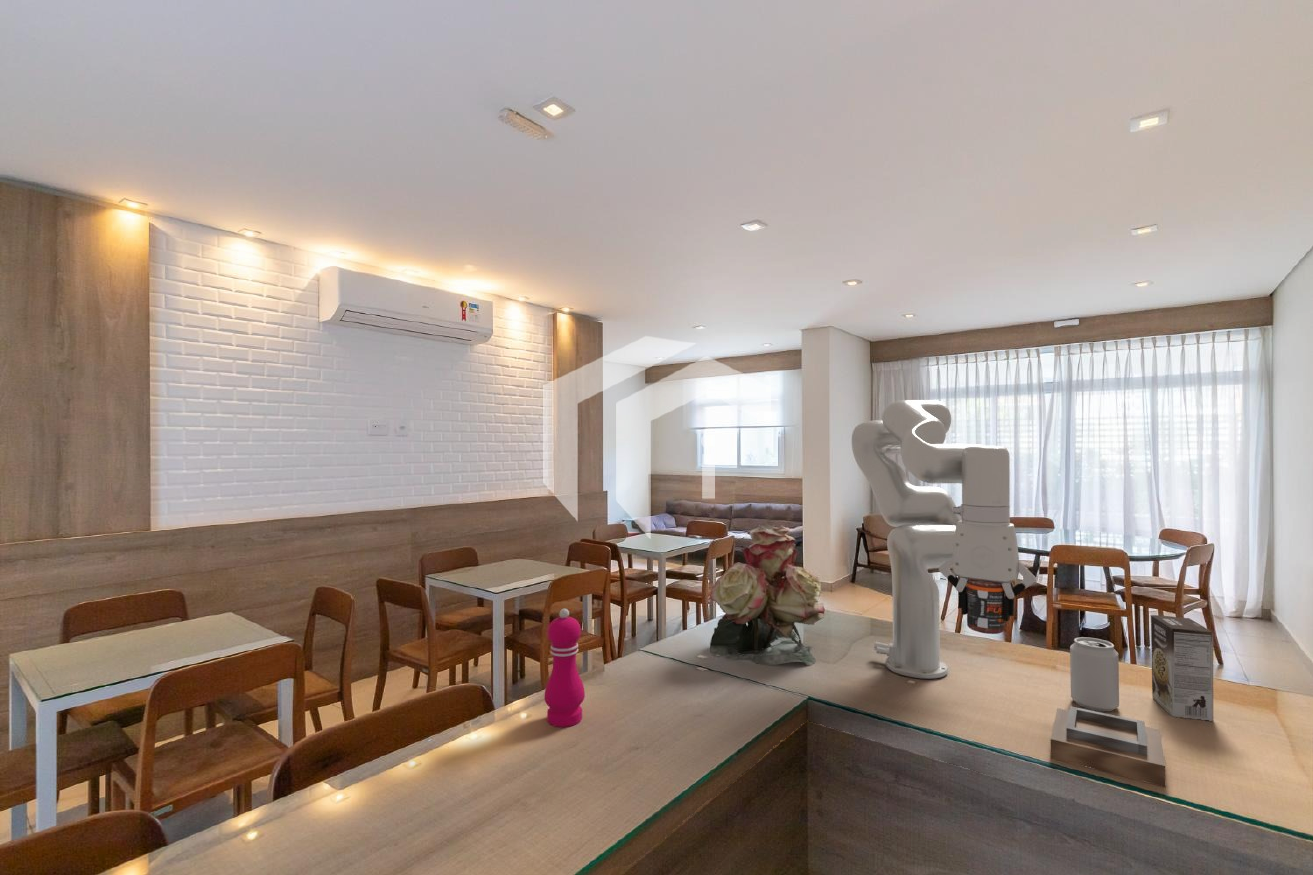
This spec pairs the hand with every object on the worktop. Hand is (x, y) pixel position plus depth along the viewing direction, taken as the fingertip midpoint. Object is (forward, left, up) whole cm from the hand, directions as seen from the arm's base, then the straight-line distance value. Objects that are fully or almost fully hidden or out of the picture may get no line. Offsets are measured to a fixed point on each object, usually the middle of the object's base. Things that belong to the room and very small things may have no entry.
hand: (985, 615), depth 110 cm
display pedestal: (+17, -1, -19) cm, 26 cm away
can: (+15, +20, -19) cm, 31 cm away
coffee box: (+28, +27, -19) cm, 43 cm away
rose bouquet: (-49, +13, -19) cm, 54 cm away
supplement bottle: (0, 0, -3) cm, 3 cm away
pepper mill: (-62, -43, -19) cm, 78 cm away
